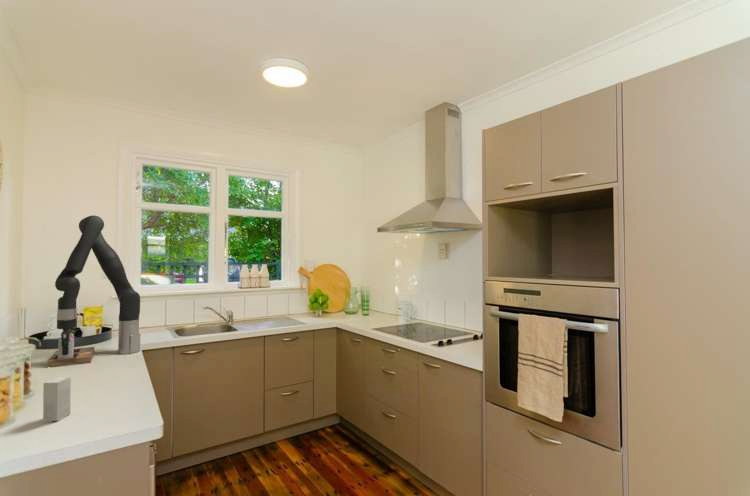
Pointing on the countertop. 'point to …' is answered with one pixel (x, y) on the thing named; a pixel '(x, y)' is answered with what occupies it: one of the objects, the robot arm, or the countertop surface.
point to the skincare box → (56, 399)
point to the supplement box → (70, 350)
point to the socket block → (79, 358)
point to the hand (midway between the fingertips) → (66, 353)
